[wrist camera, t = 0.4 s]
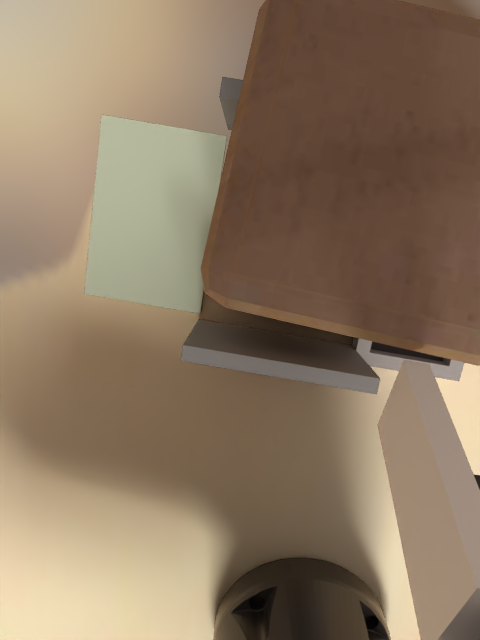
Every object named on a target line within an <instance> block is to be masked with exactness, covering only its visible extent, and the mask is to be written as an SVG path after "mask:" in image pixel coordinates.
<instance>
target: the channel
mask: <svg viewBox="0 0 480 640" xmlns="http://www.w3.org/2000/svg"><path fill="white" fill-rule="evenodd" d="M242 84H243V80H239V79H233V78H227V77H222V83H221V90H220V96H219V97H220V101H221V104H222V108H223V112H224V115H225V119H226V123H227V126H228V130H232V128H233V123H234V119H235V114H236V110H237V106H238V101H239V97H240V92H241V88H242ZM181 361H185V362H191V363H196V364H202V365H208V366H214V367H220V368H226V369H231V370H237V371H243V372H249V373H255V374H261V375H267V376H272V377H278V378H284V379H290V380H296V381H302V382H308V383H313V384H319V385H325V386H331V387H337V388H343V389H349V390H354V391H360V392H366V393H372V394H377V390H378V385H379V381H380V378H379V377H378V376H377V374H376V373H375V372H374V371H373V370H372V368H371V367H370V366H369V365H368V364H367V363H366V361H365V360H364V359H363V358H362V357H361V355H360V354H359V353H358V352H357V351H356V349H355V348H354V347H353V346H352V345H347V344H341V343H335V342H330V341H324V340H318V339H312V338H306V337H300V336H295V335H289V334H283V333H277V332H271V331H265V330H259V329H254V328H248V327H242V326H236V325H230V324H224V323H218V322H213V321H207V320H201V319H199V321H198V322H197V324H196V325H195V327H194V328H193V330H192V332H191V333H190V335H189V336H188V338H187V340H186V341H185V343H184V344H183V349H182V356H181Z"/></svg>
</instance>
